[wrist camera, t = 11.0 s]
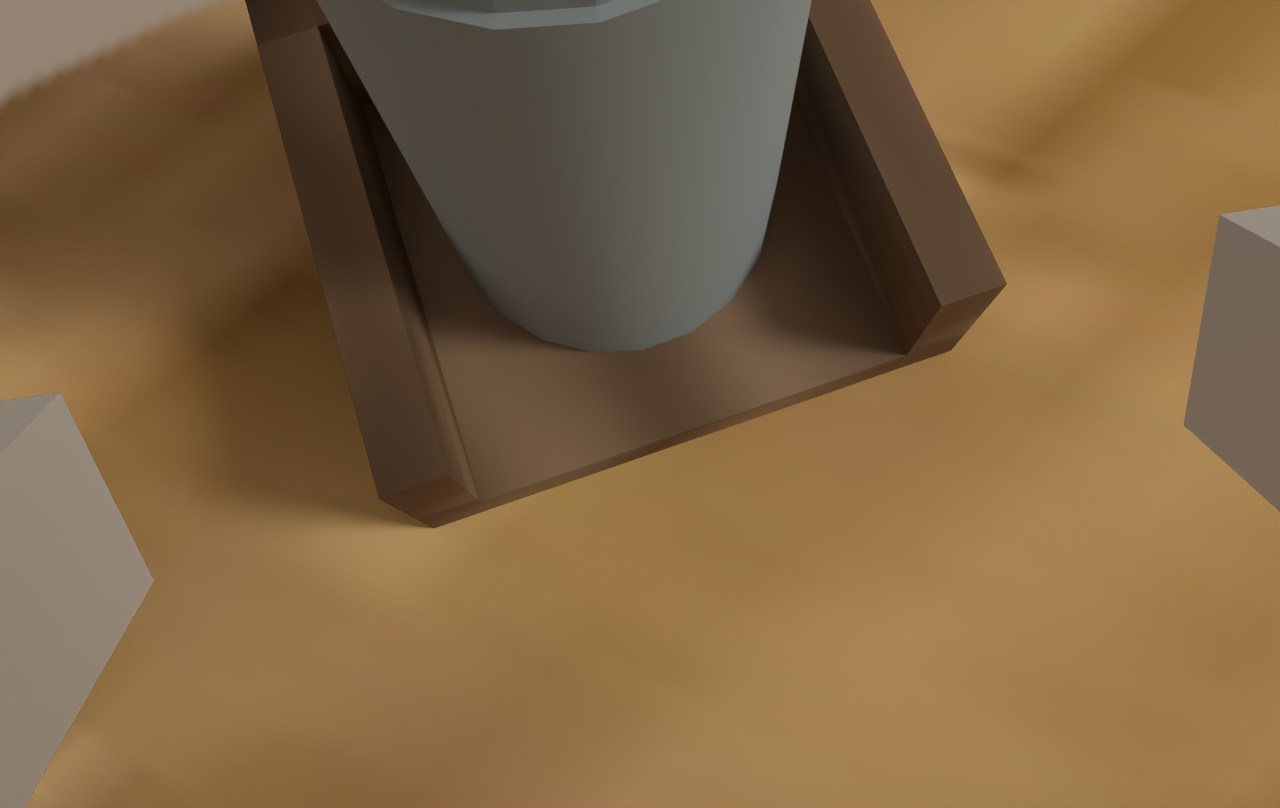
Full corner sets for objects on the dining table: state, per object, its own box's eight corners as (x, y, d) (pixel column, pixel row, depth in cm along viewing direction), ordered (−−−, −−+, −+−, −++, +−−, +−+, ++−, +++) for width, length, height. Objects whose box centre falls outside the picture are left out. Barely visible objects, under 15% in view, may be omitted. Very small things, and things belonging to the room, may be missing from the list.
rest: (769, -48, 30) (785, -176, 26) (951, 350, 27) (1006, 283, 22) (312, 100, 30) (243, -5, 25) (433, 528, 26) (379, 498, 21)
